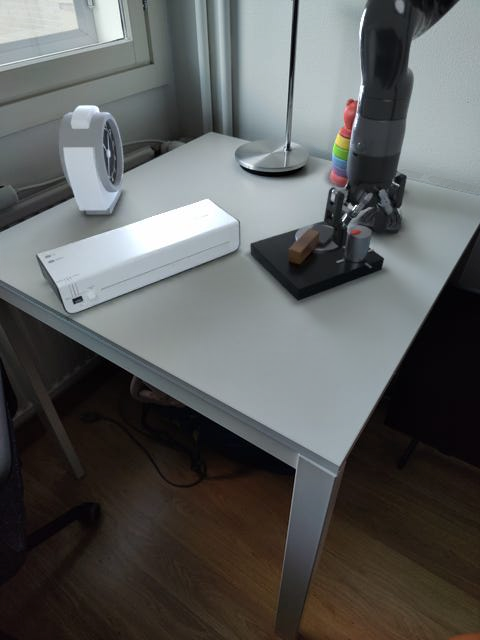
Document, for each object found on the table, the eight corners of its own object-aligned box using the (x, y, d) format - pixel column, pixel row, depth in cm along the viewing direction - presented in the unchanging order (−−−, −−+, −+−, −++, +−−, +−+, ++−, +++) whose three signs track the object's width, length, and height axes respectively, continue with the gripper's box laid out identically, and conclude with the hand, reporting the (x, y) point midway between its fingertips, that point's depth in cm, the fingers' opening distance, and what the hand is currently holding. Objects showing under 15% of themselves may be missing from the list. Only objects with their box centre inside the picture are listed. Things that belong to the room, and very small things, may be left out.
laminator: (210, 225, 95) (208, 198, 91) (244, 252, 88) (243, 223, 84) (45, 283, 81) (34, 253, 77) (69, 321, 74) (58, 290, 69)
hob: (328, 229, 93) (330, 218, 92) (386, 272, 82) (389, 260, 80) (250, 254, 87) (250, 242, 85) (301, 304, 76) (302, 292, 74)
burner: (324, 222, 91) (325, 220, 91) (354, 243, 85) (354, 241, 85) (286, 233, 88) (286, 232, 87) (313, 256, 82) (313, 255, 82)
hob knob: (357, 247, 84) (361, 221, 80) (371, 258, 81) (377, 232, 78) (339, 253, 82) (343, 227, 79) (353, 264, 80) (358, 238, 76)
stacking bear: (381, 178, 111) (396, 99, 99) (357, 193, 105) (370, 111, 93) (343, 166, 116) (353, 90, 105) (319, 179, 111) (327, 100, 99)
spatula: (315, 225, 88) (316, 213, 86) (336, 231, 86) (337, 219, 84) (283, 258, 81) (283, 246, 80) (305, 266, 80) (306, 254, 78)
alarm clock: (114, 222, 97) (92, 123, 84) (74, 223, 97) (45, 124, 84) (131, 185, 110) (114, 94, 97) (96, 185, 111) (74, 94, 97)
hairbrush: (419, 180, 103) (396, 227, 86) (415, 195, 106) (392, 244, 88) (382, 174, 106) (353, 218, 89) (379, 189, 108) (350, 235, 91)
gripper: (395, 127, 74) (376, 218, 84) (321, 145, 69) (312, 239, 80) (430, 143, 69) (405, 237, 79) (353, 163, 64) (338, 260, 75)
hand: (358, 238), depth 79 cm, fingers open, 8 cm apart
